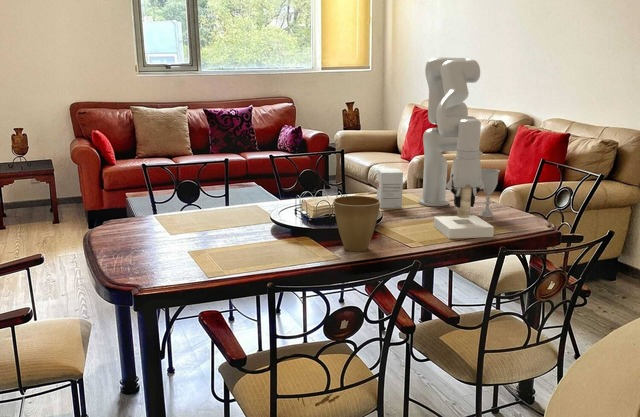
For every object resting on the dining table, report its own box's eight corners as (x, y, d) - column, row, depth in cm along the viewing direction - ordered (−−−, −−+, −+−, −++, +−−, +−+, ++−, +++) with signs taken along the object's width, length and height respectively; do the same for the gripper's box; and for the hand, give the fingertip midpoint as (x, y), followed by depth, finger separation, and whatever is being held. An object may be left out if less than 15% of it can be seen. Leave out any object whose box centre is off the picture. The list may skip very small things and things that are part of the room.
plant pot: (388, 248, 204) (389, 200, 200) (358, 258, 193) (360, 208, 189) (352, 238, 213) (353, 192, 209) (323, 248, 203) (323, 200, 199)
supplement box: (375, 203, 263) (377, 168, 259) (396, 203, 264) (398, 168, 260) (380, 208, 254) (381, 172, 250) (401, 208, 255) (403, 172, 251)
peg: (455, 215, 224) (457, 182, 221) (466, 214, 224) (469, 181, 221) (459, 218, 219) (462, 184, 217) (471, 217, 220) (474, 184, 217)
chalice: (494, 213, 248) (498, 168, 244) (497, 217, 242) (501, 172, 237) (475, 212, 249) (479, 168, 244) (478, 217, 242) (481, 171, 238)
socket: (433, 226, 230) (433, 216, 229) (474, 224, 232) (475, 215, 231) (449, 238, 214) (449, 228, 213) (493, 236, 217) (493, 227, 216)
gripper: (486, 152, 222) (482, 203, 226) (440, 153, 219) (437, 204, 223) (495, 156, 214) (491, 208, 219) (448, 157, 212) (445, 209, 216)
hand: (464, 205), depth 221 cm, fingers closed on peg, 4 cm apart
